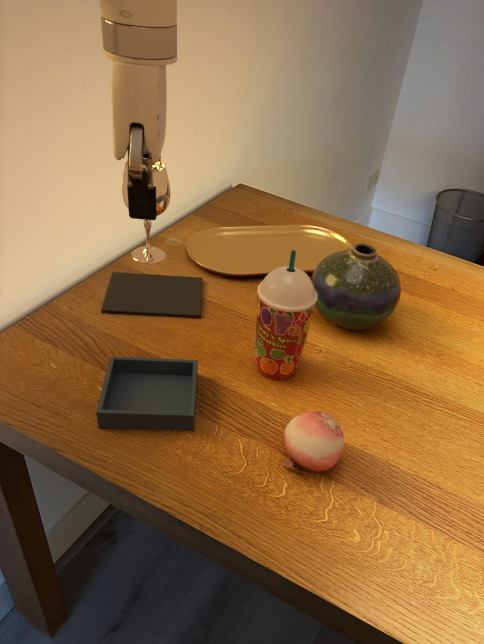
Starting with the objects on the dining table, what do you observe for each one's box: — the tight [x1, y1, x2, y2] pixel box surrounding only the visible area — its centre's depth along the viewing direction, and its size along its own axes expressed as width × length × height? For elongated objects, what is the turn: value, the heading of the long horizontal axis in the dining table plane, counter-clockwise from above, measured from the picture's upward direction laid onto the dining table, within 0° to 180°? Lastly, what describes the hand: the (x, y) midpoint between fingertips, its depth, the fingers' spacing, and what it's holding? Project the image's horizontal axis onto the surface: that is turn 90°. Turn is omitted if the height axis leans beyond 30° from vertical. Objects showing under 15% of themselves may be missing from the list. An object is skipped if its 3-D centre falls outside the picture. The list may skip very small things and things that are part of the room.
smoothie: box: [254, 250, 317, 380], centre depth 77 cm, size 8×8×20 cm
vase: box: [310, 243, 402, 331], centre depth 93 cm, size 15×15×13 cm
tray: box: [96, 355, 199, 432], centre depth 74 cm, size 12×11×3 cm
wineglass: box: [121, 158, 171, 265], centre depth 68 cm, size 6×6×12 cm
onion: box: [282, 410, 345, 477], centre depth 68 cm, size 8×8×7 cm
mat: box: [100, 271, 204, 319], centre depth 94 cm, size 16×12×1 cm
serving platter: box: [185, 224, 354, 278], centre depth 110 cm, size 19×35×2 cm, turn 108°
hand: (146, 205), depth 68 cm, fingers closed on wineglass, 5 cm apart
